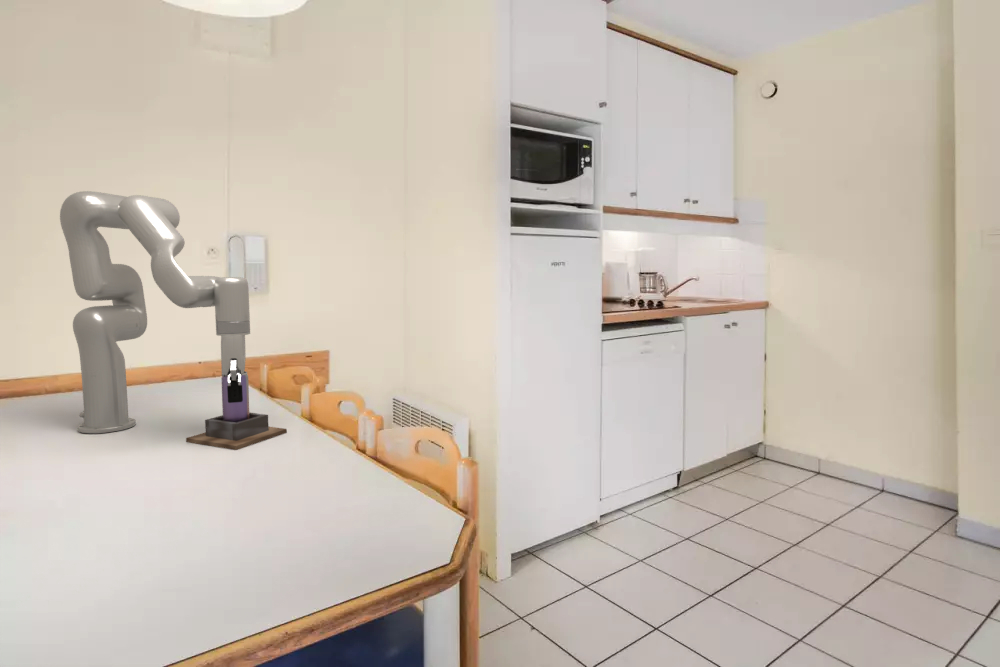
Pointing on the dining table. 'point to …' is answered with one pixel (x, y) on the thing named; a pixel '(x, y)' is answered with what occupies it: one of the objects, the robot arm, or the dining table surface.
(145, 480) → the dining table surface
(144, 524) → the dining table surface
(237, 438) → the can holder
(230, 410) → the beverage can
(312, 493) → the dining table surface
